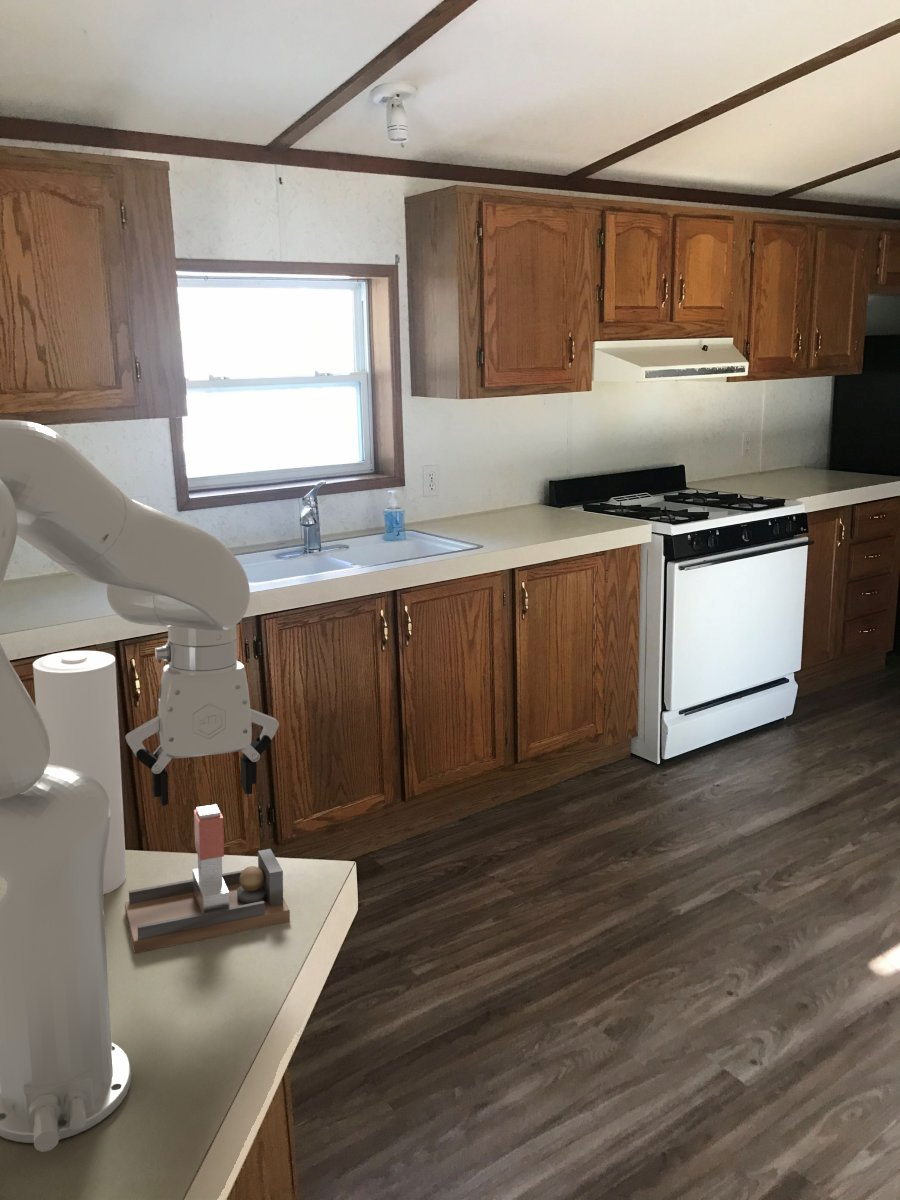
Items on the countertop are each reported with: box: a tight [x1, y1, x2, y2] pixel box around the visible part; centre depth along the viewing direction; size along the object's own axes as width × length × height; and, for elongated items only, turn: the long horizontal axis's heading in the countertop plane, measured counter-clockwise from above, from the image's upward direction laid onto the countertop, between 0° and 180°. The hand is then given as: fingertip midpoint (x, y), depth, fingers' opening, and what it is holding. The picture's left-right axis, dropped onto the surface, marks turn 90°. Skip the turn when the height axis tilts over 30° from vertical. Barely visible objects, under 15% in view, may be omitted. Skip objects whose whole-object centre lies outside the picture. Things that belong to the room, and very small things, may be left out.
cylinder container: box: [32, 650, 127, 896], centre depth 122 cm, size 9×9×30 cm
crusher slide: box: [192, 803, 229, 913], centre depth 116 cm, size 7×3×12 cm, turn 24°
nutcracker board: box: [124, 848, 291, 954], centre depth 117 cm, size 9×18×6 cm, turn 114°
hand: (205, 795), depth 114 cm, fingers open, 9 cm apart
